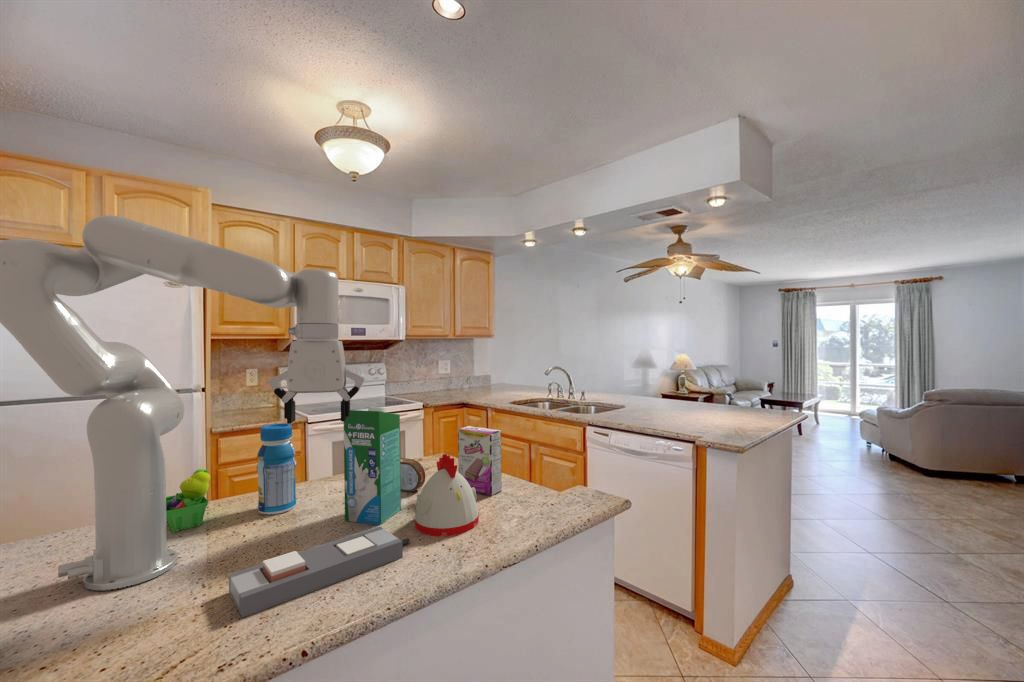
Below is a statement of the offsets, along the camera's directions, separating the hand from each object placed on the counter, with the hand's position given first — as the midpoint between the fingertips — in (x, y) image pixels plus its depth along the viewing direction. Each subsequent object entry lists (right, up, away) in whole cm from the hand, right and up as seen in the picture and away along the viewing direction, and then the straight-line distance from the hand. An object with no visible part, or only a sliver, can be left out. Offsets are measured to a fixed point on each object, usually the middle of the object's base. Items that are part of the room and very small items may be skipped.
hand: (317, 421), depth 87 cm
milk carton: (+6, -25, +16) cm, 30 cm away
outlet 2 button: (+9, -24, -6) cm, 26 cm away
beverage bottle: (-19, -25, +20) cm, 37 cm away
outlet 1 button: (+1, -22, -14) cm, 26 cm away
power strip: (+6, -25, -8) cm, 27 cm away
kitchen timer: (+23, -25, +11) cm, 36 cm away
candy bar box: (+29, -24, +32) cm, 50 cm away
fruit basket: (-35, -25, +13) cm, 45 cm away
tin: (+7, -25, +33) cm, 42 cm away
